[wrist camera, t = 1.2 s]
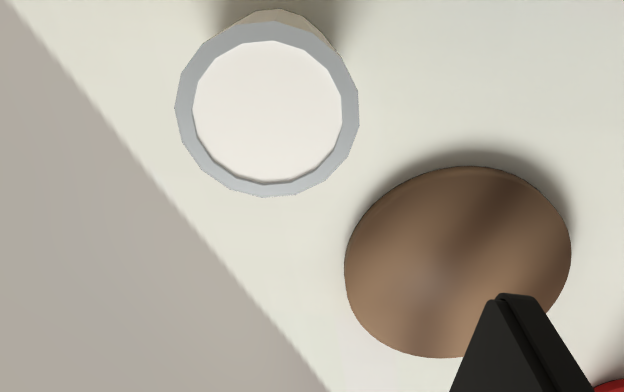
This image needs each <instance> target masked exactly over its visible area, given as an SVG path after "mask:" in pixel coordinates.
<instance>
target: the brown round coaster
mask: <svg viewBox="0 0 624 392" xmlns="http://www.w3.org/2000/svg"><path fill="white" fill-rule="evenodd" d="M570 264H571V242H570V238H569V234H568V230H567V228H566V226H565V224H564V221H563V219H562V218H561V216H560V215H559V213H558V212H557V210H556V209H555V208H554V207H553V206H552V204H551V203H550V202H549V201H548V200H547V199H546V198H545V197H544V196H543V195H542V194H541V193H540V192H539V191H538V190H537V189H536V188H535V187H533V186H532V185H531V184H529V183H528V182H527V181H525V180H523V179H521V178H519V177H517V176H515V175H513V174H510V173H507V172H504V171H502V170H497V169H492V168H487V167H476V166H461V167H451V168H444V169H439V170H435V171H432V172H428V173H425V174H422V175H420V176H417V177H415V178H412V179H410V180H408V181H406V182H404V183H402V184H400V185H399V186H397V187H395V188H394V189H392V190H391V191H389V192H388V193H387V194H385V195H384V196H383V197H381V198H380V199H379V200H378V201H377V202H376V203H375V204H374V205H372V207H371V208H370V209H369V210H368V211H367V212H366V213H365V215H364V216H363V217H362V219H361V220H360V222H359V223H358V225H357V226H356V228H355V230H354V232H353V234H352V236H351V238H350V240H349V243H348V246H347V250H346V254H345V261H344V277H345V284H346V291H347V297H348V300H349V303H350V306H351V309H352V311H353V313H354V315H355V316H356V318H357V320H358V321H359V322H360V324H361V325H362V326H363V328H364V329H366V330H367V331H368V332H369V333H370V334H371V335H372V336H373V337H374V338H376V339H377V340H379V341H380V342H381V343H383V344H385V345H387V346H389V347H391V348H393V349H395V350H398V351H400V352H403V353H407V354H411V355H414V356H420V357H426V358H456V357H463V356H464V355H465V352H466V350H467V347H468V345H469V343H470V340H471V338H472V335H473V333H474V331H475V328H476V326H477V323H478V321H479V318H480V316H481V314H482V311H483V309H484V306H485V304H486V302H487V301H488V300H490V299H495V298H496V296H497V295H498V294H499V293H511V294H520V295H529V296H532V297H534V298H535V299H536V300H537V301H538V303H539V304H540V306H541V307H542V309H543V311H544V312H545V314H546V313H547V312H548V311H549V309H550V308H551V307H552V305H553V304H554V303H555V301H556V300H557V298H558V296H559V295H560V293H561V291H562V289H563V287H564V285H565V282H566V280H567V277H568V273H569V269H570Z"/></svg>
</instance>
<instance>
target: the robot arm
mask: <svg viewBox="0 0 624 392" xmlns="http://www.w3.org/2000/svg"><path fill="white" fill-rule="evenodd" d="M449 392H595V390H594V389H593V387H592V386H591V384H590V383H589V381H588V379H587V378H586V376H585V375H584V373H583V372H582V370H581V369H580V367H579V365H578V364H577V362H576V361H575V359H574V358H573V356H572V354H571V353H570V351H569V350H568V348H567V347H566V345H565V343H564V342H563V340H562V339H561V337H560V336H559V334H558V332H557V331H556V329H555V328H554V326H553V325H552V323H551V321H550V320H549V318H548V317H547V315H546V314H545V312H544V311H543V309H542V307H541V306H540V304H539V303H538V301H537V300H536V299H535V298H534V297H532V296H529V295H520V294H511V293H499V294H498V295H497V296H496V298H495V299H490V300H488V301H487V302H486V304H485V306H484V309H483V311H482V314H481V316H480V318H479V321H478V323H477V326H476V328H475V331H474V333H473V335H472V338H471V340H470V343H469V345H468V347H467V350H466V352H465V355H464V357H463V360H462V362H461V364H460V367H459V369H458V372H457V374H456V377H455V379H454V381H453V384H452V386H451V389H450V391H449Z"/></svg>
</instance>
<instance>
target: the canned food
mask: <svg viewBox="0 0 624 392" xmlns="http://www.w3.org/2000/svg"><path fill="white" fill-rule="evenodd" d="M593 389H594V390H595V392H624V379H619V380H614V381H610V382H607V383H604V384H601V385H599V386H597V387H595V388H593Z"/></svg>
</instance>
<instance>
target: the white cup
mask: <svg viewBox="0 0 624 392" xmlns="http://www.w3.org/2000/svg"><path fill="white" fill-rule="evenodd" d="M174 109H175V113H176V118H177V122H178V127H179V131H180V136H181V140H182V143H183V144H184V146H185V147H186V148H187V150H188V151H189V153H190V154H191V156H192V157H193V158H194V160H195V161H196V163H197V164H198V166H199V167H200V169H201V170H202V171H204V172H205V173H207V174H208V175H210V176H211V177H212V178H214V179H215V180H217V181H218V182H220V183H221V184H223V185H224V186H226V187H227V188H228V189H230V190H234V191H238V192H242V193H246V194H250V195H253V196H257V197H261V198H265V197H277V196H288V195H296V194H298V193H300V192H302V191H305V190H307V189H309V188H311V187H313V186H315V185H317V184H319V183H321V182H324V181H325V180H326V179H327V178H328V177H329V176H330V175H331V174H332V173H333V172H334V171H335V170H336V169H337V168H338V167H339V165H340V164H341V163H342V162H343V161H344V160H345V159H346V158H347V157H348V155H349V152H350V149H351V147H352V144H353V141H354V139H355V136H356V133H357V131H358V128H359V105H358V90H357V88H356V86H355V84H354V82H353V80H352V78H351V76H350V74H349V72H348V70H347V68H346V66H345V64H344V62H343V60H342V58H341V57H340V55H339V54H338V53H337V52H336V50H335V49H334V48H333V47H332V45H331V44H330V43H329V42H328V40H327V39H326V38H325V37H324V35H323V34H322V33H321V32H320V31H319V30H318V29H317V28H316V27H315V26H313V25H312V24H311V23H310V22H309V21H308V20H306V19H305V18H304V17H303V16H301V15H298V14H295V13H292V12H288V11H285V10H282V9H271V10H261V11H255V12H253V13H252V14H250V15H248V16H246V17H245V18H243V19H241V20H239V21H237V22H236V23H234V24H233V25H231V26H229V27H228V28H226V29H225V30H223V31H222V32H220V33H218V34H217V35H215V36H214V37H212V38H211V39H209V40H207V41H206V42H204V43H203V44H202V45H201V46H200V48H199V49H198V51H197V52H196V53H195V55H194V56H193V58H192V59H191V60H190V62H189V63H188V64H187V66H186V67H185V69H184V70H183V71H182V73H181V77H180V82H179V87H178V92H177V97H176V102H175V107H174Z"/></svg>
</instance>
